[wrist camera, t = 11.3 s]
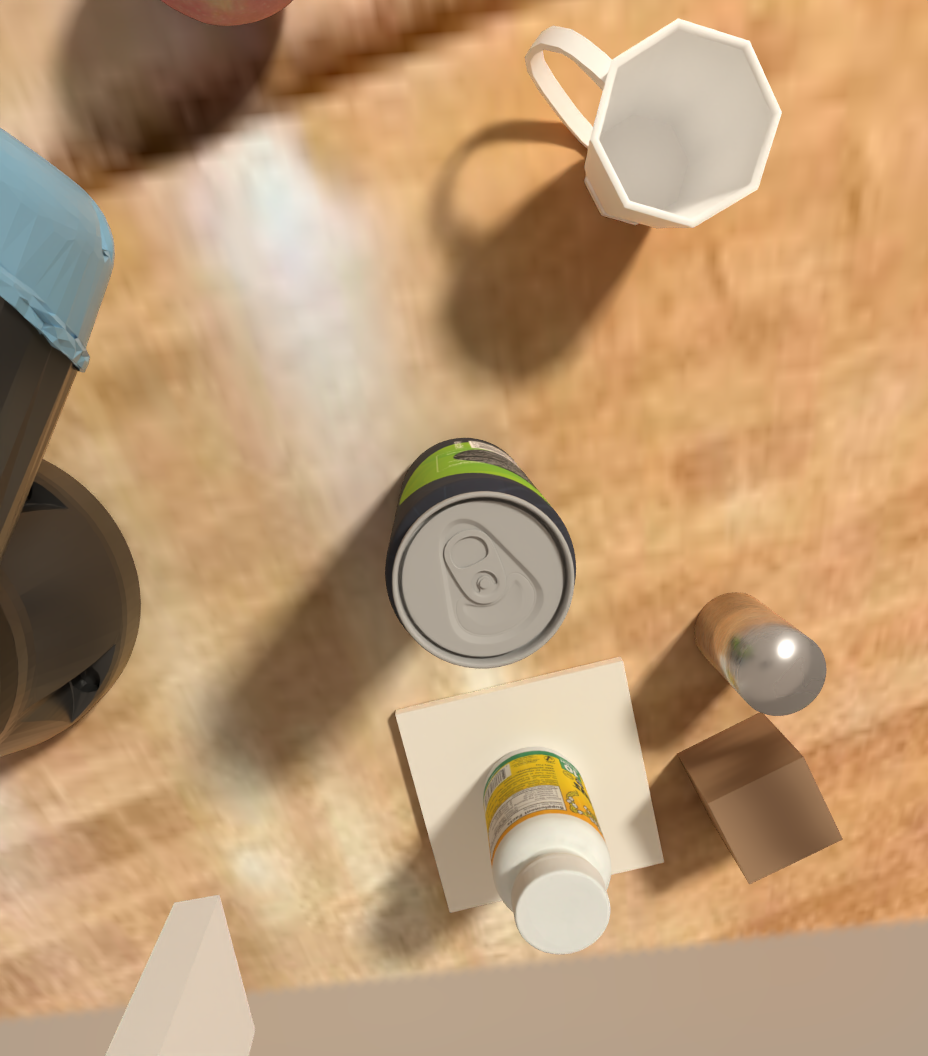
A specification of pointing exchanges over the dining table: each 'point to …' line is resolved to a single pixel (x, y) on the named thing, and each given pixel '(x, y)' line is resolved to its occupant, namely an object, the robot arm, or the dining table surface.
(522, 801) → the supplement bottle
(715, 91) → the cup
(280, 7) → the apple
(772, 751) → the walnut block
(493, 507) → the beverage can
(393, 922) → the dining table surface
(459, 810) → the coaster
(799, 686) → the cylinder
